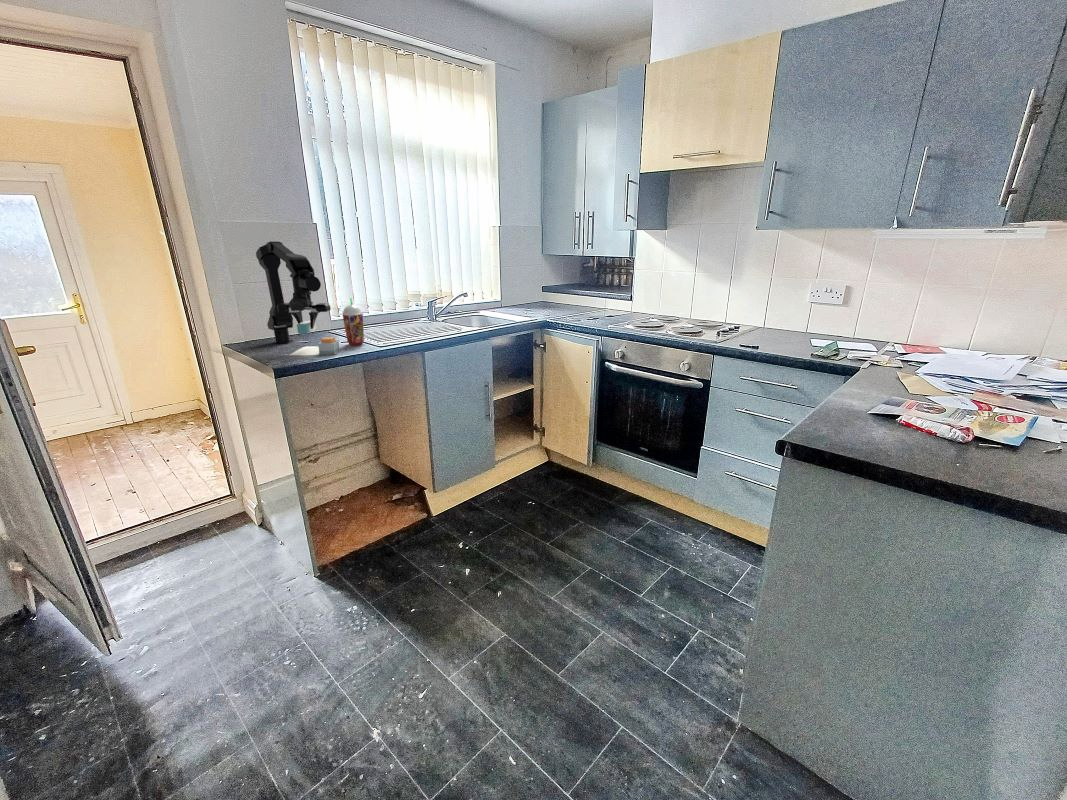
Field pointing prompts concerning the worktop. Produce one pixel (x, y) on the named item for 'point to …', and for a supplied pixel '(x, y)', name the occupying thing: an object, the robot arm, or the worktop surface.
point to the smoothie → (353, 324)
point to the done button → (328, 340)
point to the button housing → (329, 348)
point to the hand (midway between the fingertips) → (307, 328)
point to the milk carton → (305, 327)
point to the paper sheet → (307, 351)
